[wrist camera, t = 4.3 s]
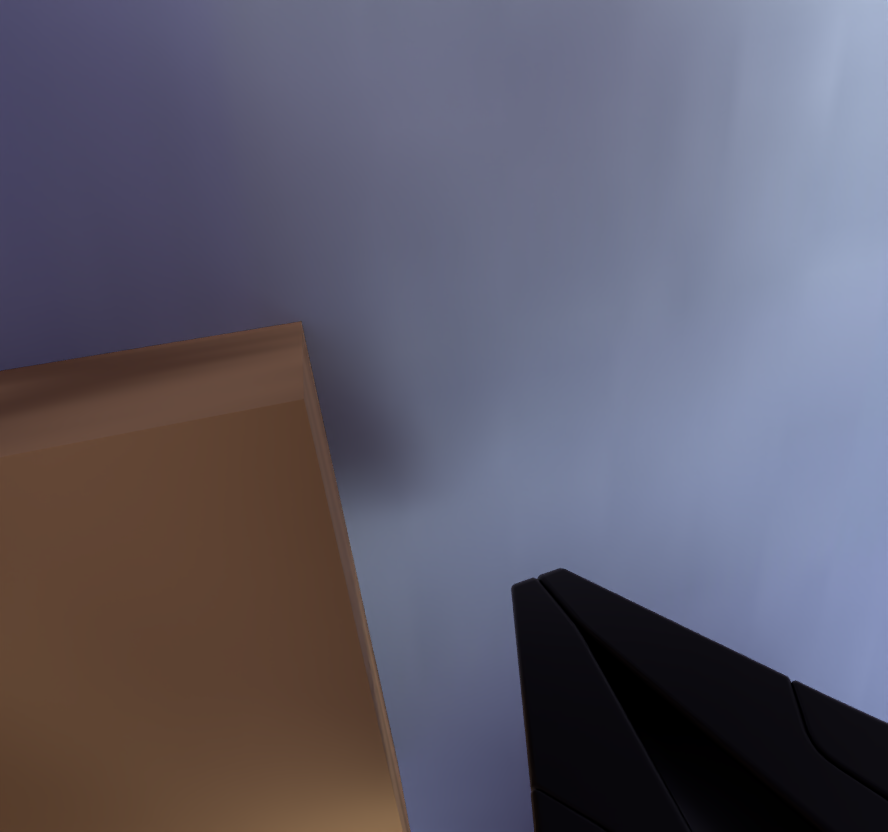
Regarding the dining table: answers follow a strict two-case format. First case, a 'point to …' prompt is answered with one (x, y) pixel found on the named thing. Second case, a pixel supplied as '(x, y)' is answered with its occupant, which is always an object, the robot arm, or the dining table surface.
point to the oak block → (183, 600)
